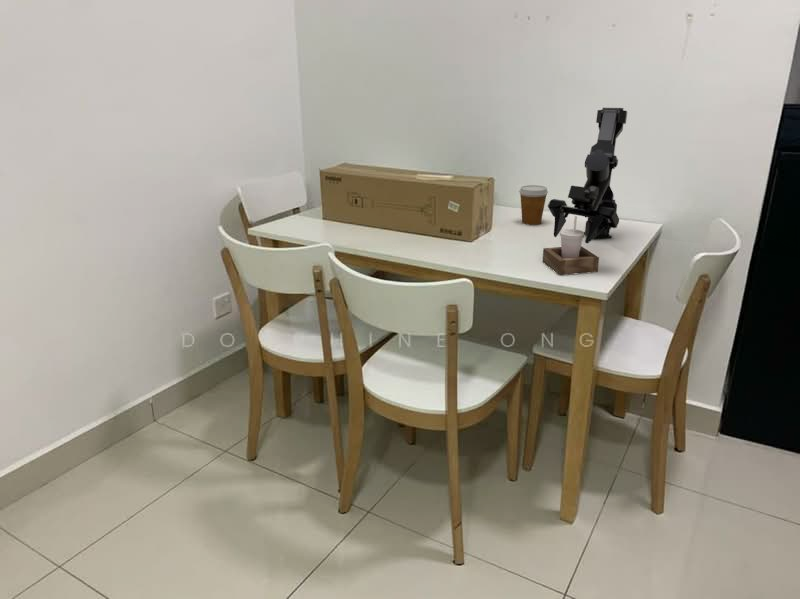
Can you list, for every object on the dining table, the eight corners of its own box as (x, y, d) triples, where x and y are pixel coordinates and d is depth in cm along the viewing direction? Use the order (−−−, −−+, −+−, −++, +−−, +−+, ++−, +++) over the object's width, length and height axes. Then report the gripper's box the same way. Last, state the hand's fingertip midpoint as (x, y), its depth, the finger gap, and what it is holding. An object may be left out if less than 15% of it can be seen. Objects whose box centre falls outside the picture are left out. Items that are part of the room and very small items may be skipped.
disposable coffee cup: (542, 218, 213) (545, 184, 208) (548, 226, 204) (551, 190, 200) (515, 219, 213) (517, 185, 209) (519, 226, 204) (521, 191, 200)
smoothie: (582, 270, 163) (587, 220, 158) (557, 269, 165) (561, 219, 159) (580, 263, 169) (585, 213, 164) (556, 262, 170) (560, 213, 165)
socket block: (579, 258, 173) (580, 245, 171) (597, 271, 163) (599, 257, 161) (542, 261, 171) (543, 248, 169) (558, 275, 161) (560, 260, 159)
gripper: (553, 169, 166) (529, 217, 163) (619, 177, 154) (595, 229, 151) (565, 193, 174) (542, 239, 171) (629, 202, 163) (605, 252, 159)
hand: (570, 239), depth 163 cm, fingers open, 9 cm apart
